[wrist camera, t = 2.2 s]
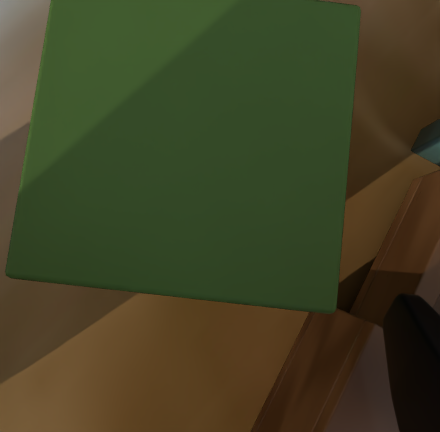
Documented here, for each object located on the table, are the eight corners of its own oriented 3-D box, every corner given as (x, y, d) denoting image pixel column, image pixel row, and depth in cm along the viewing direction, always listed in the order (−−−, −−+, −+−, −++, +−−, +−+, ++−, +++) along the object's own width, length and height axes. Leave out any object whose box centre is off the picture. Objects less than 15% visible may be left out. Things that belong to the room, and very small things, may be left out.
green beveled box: (244, 273, 18) (337, 315, 5) (146, 262, 18) (0, 277, 5) (254, 177, 19) (363, 3, 6) (159, 166, 19) (54, -38, 6)
